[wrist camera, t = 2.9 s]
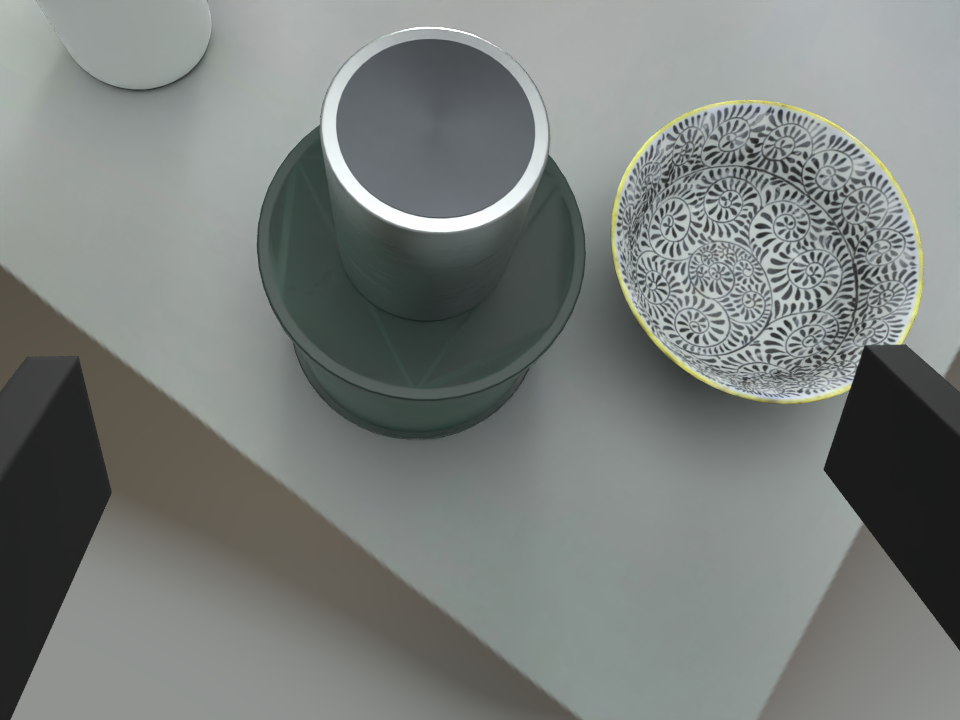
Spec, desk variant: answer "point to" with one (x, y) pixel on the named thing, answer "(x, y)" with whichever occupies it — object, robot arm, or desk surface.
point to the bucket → (404, 342)
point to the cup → (132, 38)
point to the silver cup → (431, 168)
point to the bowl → (765, 250)
